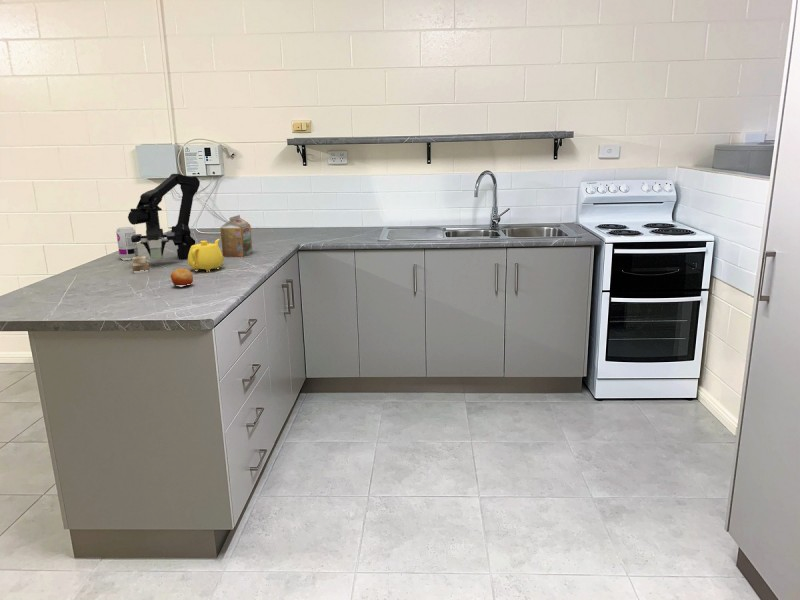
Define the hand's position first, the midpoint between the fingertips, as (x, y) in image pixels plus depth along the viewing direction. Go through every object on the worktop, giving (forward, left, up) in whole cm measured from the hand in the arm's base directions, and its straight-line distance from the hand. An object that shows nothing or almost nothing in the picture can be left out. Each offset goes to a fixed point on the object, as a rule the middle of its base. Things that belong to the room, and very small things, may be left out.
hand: (156, 256), depth 277 cm
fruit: (-12, +48, -4) cm, 50 cm away
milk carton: (-36, -11, -4) cm, 38 cm away
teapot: (-22, +18, -4) cm, 29 cm away
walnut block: (+6, +13, -4) cm, 15 cm away
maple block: (+6, +13, -1) cm, 14 cm away
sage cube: (0, 0, -1) cm, 1 cm away
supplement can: (+14, -20, -4) cm, 25 cm away
